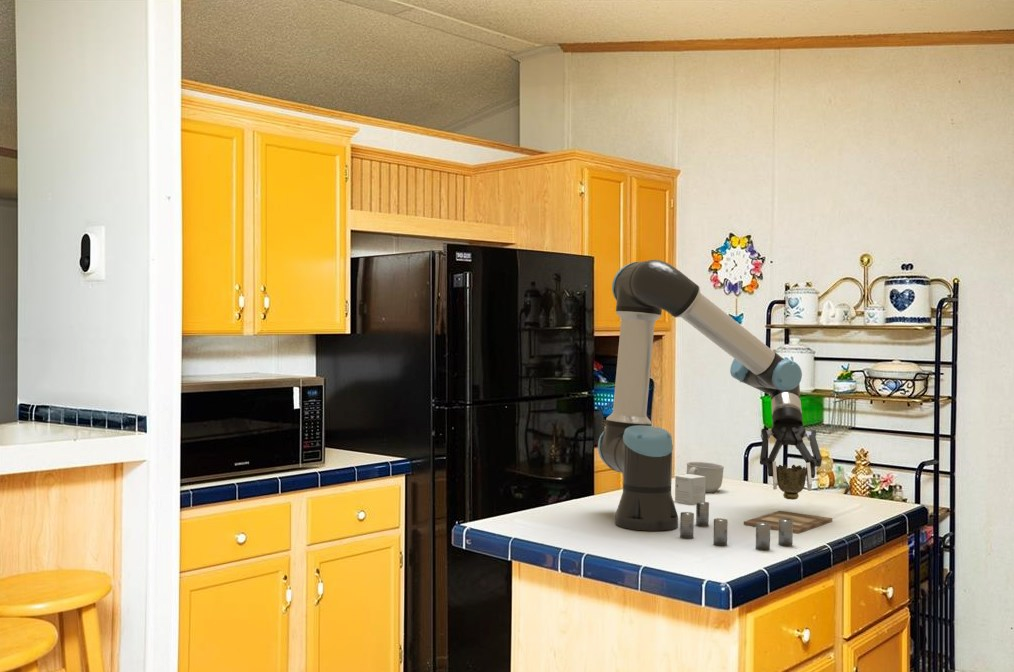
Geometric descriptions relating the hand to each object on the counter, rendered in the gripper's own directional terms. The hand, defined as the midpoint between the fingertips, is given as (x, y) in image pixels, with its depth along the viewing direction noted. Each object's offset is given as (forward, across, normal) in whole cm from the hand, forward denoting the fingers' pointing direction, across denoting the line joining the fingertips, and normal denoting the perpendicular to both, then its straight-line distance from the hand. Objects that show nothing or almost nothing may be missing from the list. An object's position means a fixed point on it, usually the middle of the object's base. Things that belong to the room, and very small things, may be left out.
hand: (792, 486), depth 236 cm
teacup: (-25, +21, -39) cm, 51 cm away
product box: (-12, +24, -25) cm, 37 cm away
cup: (0, 0, -5) cm, 5 cm away
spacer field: (+19, +16, +5) cm, 25 cm away
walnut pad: (+5, 0, -9) cm, 10 cm away
